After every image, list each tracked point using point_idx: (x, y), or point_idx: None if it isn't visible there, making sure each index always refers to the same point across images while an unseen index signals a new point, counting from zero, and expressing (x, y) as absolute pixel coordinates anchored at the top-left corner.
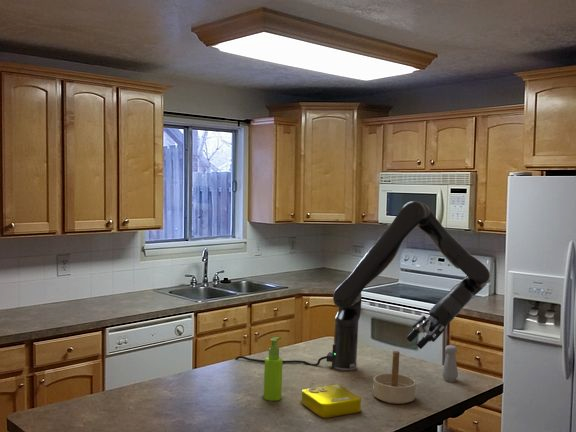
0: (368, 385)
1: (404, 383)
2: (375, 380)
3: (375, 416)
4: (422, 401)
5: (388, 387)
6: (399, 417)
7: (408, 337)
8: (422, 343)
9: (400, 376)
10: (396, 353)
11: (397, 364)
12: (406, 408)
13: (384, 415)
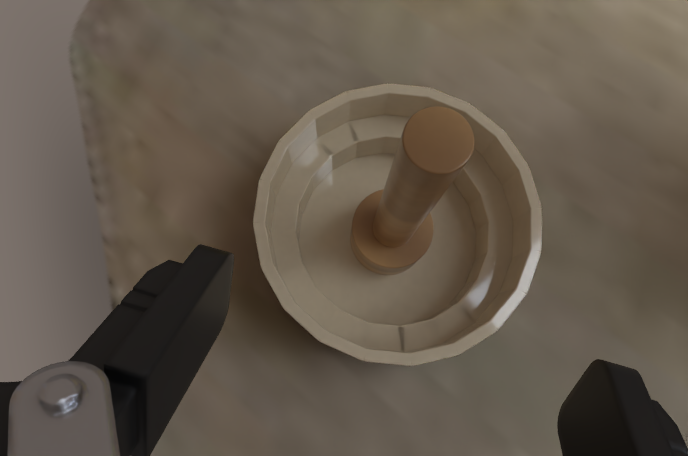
0: (598, 222)
1: (435, 342)
2: (435, 95)
3: (216, 11)
4: (273, 357)
5: (313, 110)
6: (156, 101)
7: (601, 384)
8: (130, 302)
9: (474, 327)
10: (406, 123)
11: (388, 178)
12: (230, 204)
13: (207, 53)
